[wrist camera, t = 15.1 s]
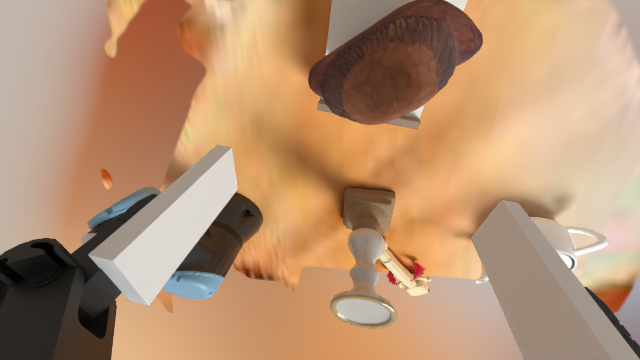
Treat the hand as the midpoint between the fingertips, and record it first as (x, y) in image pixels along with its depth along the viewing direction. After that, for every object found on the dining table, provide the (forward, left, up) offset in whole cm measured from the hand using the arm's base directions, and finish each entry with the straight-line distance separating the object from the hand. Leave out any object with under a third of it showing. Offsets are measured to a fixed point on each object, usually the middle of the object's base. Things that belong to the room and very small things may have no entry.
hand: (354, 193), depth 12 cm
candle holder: (+7, -29, -31) cm, 43 cm away
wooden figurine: (+1, +4, -23) cm, 24 cm away
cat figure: (+20, -46, -32) cm, 59 cm away
